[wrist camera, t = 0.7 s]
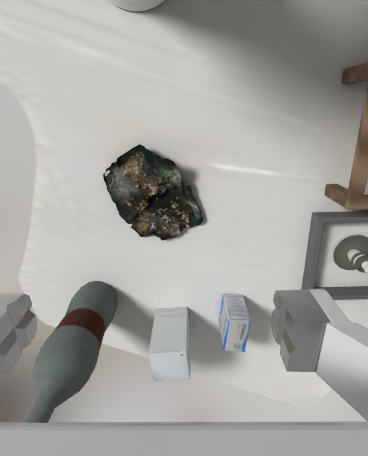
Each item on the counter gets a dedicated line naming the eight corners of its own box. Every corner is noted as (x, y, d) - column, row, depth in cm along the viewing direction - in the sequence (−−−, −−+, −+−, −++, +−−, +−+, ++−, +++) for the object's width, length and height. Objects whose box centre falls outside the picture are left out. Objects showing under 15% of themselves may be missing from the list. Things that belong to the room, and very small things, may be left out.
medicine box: (222, 292, 61) (228, 319, 53) (243, 294, 61) (251, 321, 53) (218, 321, 64) (223, 351, 56) (238, 323, 64) (245, 353, 56)
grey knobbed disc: (372, 215, 53) (389, 224, 49) (390, 262, 57) (408, 275, 53) (312, 244, 56) (323, 256, 51) (333, 288, 60) (345, 302, 55)
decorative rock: (219, 217, 50) (156, 266, 53) (213, 206, 56) (156, 251, 59) (148, 131, 44) (80, 191, 46) (149, 129, 49) (89, 183, 52)
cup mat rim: (312, 212, 54) (319, 218, 51) (408, 209, 53) (420, 214, 50) (301, 291, 60) (306, 300, 58) (386, 289, 60) (396, 298, 57)
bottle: (69, 287, 61) (-31, 432, 33) (105, 272, 59) (32, 411, 31) (92, 319, 64) (18, 476, 36) (127, 305, 62) (78, 459, 35)
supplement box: (154, 308, 63) (147, 352, 51) (188, 306, 62) (187, 350, 51) (158, 334, 65) (152, 382, 54) (190, 332, 65) (190, 380, 53)
